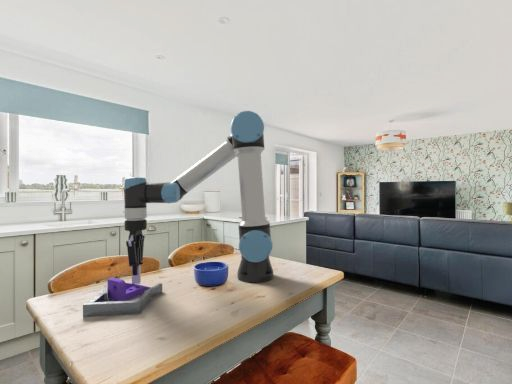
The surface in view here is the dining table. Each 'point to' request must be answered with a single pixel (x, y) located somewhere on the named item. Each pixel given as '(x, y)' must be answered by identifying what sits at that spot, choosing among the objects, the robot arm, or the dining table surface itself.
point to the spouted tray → (118, 304)
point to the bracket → (124, 290)
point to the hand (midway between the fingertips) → (136, 283)
